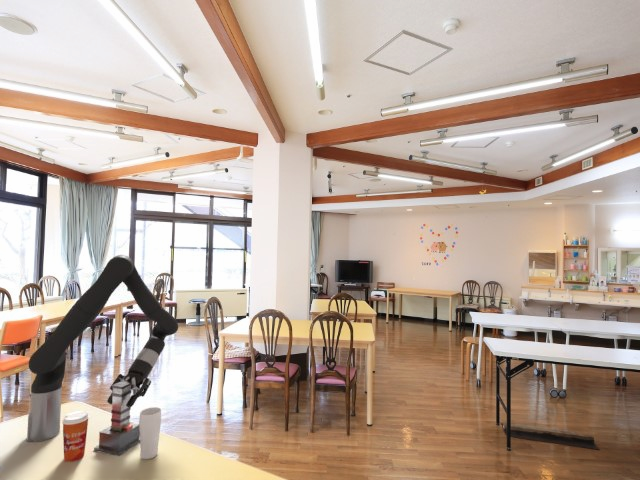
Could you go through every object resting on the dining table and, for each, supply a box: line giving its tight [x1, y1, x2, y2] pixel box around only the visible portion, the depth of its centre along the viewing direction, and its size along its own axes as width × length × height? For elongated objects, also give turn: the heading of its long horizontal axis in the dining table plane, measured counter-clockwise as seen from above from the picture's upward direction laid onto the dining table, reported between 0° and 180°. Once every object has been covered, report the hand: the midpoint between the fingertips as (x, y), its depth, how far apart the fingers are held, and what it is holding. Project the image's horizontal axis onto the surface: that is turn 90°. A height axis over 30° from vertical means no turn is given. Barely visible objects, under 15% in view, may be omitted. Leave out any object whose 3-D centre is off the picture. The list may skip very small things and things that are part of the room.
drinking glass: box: [138, 406, 162, 460], centre depth 120 cm, size 7×7×15 cm
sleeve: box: [93, 421, 140, 457], centre depth 126 cm, size 11×11×7 cm
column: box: [110, 380, 132, 433], centre depth 126 cm, size 5×5×16 cm
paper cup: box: [61, 410, 91, 463], centre depth 118 cm, size 8×8×14 cm
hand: (118, 405), depth 125 cm, fingers open, 8 cm apart
